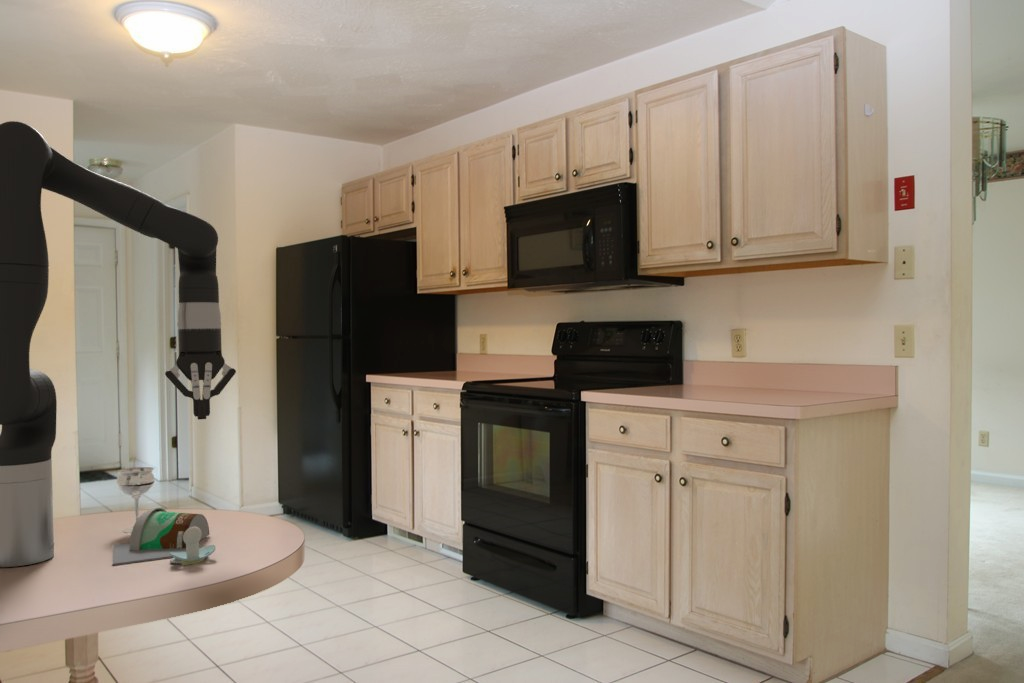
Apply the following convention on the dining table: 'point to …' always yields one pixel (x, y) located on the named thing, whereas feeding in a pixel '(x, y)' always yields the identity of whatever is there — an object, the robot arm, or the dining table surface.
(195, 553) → the pacifier
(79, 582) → the dining table surface
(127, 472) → the wineglass
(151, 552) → the mat
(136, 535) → the food container
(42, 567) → the dining table surface
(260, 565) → the dining table surface
